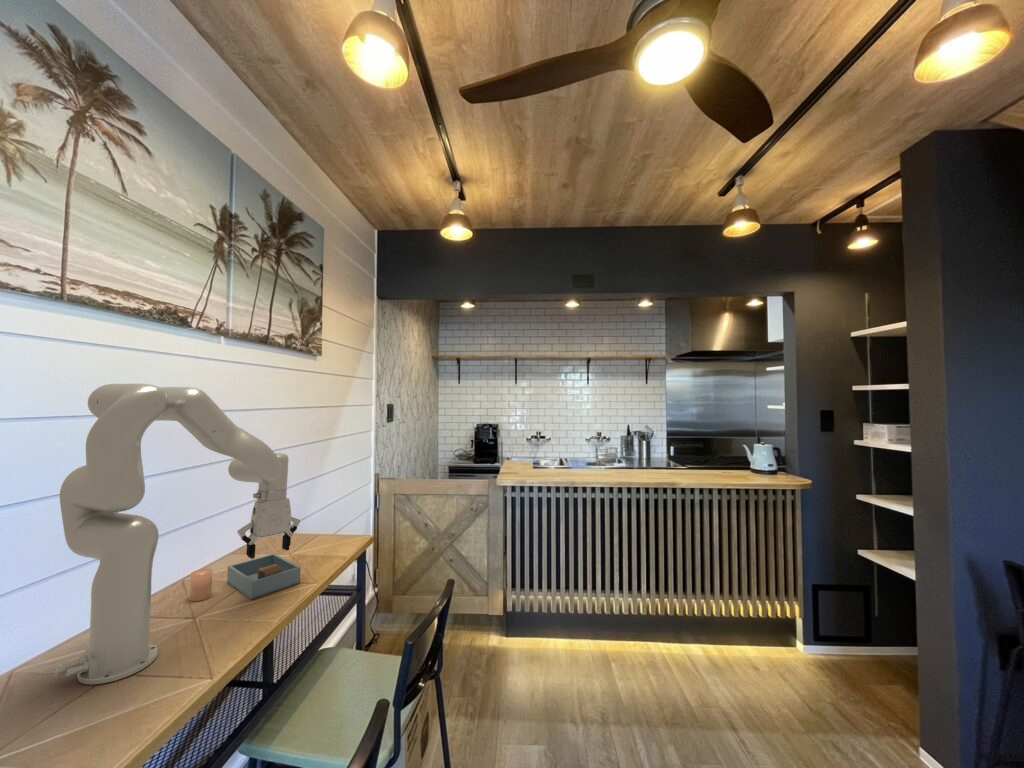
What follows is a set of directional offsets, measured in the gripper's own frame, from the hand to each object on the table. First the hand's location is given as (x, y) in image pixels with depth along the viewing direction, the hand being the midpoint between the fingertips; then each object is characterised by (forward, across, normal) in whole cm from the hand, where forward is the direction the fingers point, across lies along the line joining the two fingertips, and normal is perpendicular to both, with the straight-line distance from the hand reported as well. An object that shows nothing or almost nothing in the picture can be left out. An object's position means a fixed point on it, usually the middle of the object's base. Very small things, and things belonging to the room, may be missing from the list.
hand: (268, 553), depth 127 cm
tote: (+10, +1, +5) cm, 12 cm away
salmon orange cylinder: (+11, -14, +9) cm, 20 cm away
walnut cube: (+10, +1, 0) cm, 10 cm away
